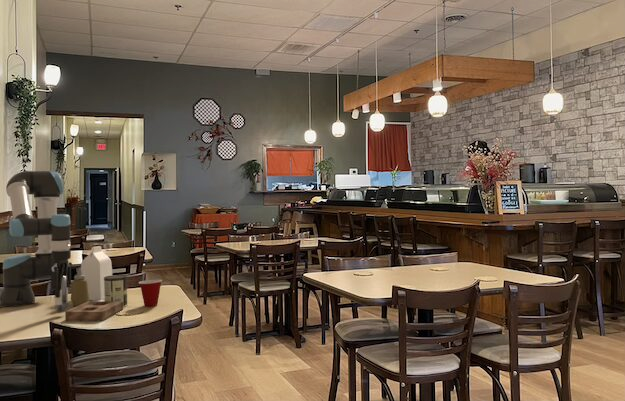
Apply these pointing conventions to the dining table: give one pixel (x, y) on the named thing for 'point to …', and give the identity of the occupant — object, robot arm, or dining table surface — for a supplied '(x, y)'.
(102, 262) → the milk
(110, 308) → the hole block
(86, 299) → the squeeze bottle
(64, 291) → the peg
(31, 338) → the dining table surface
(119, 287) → the coffee can
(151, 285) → the plastic cup
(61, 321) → the dining table surface
